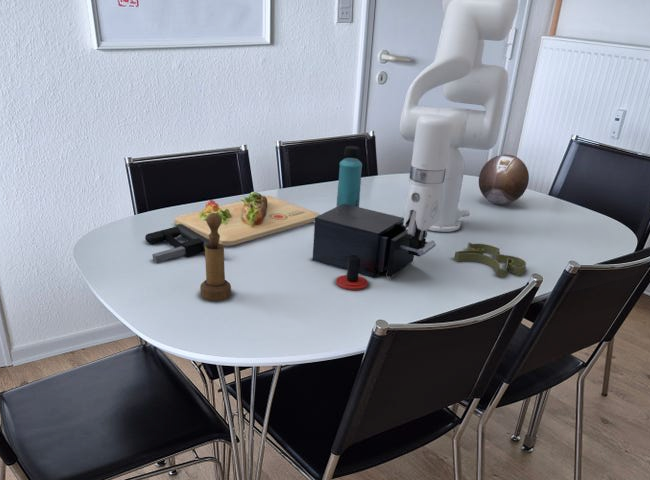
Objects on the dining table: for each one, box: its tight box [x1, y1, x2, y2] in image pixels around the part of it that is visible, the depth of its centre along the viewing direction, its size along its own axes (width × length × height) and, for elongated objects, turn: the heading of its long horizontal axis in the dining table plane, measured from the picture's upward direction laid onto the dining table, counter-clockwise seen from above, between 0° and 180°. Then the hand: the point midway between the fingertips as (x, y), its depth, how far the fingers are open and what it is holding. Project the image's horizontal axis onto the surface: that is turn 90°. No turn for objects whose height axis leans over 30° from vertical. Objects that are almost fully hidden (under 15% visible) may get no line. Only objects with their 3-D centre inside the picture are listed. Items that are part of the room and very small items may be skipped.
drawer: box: [376, 224, 437, 278], centre depth 154 cm, size 22×13×9 cm, turn 58°
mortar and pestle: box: [199, 213, 232, 302], centre depth 135 cm, size 7×6×18 cm
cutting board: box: [173, 191, 320, 247], centre depth 178 cm, size 35×23×8 cm
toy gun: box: [144, 224, 210, 264], centre depth 159 cm, size 3×20×16 cm
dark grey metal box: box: [312, 204, 405, 278], centre depth 158 cm, size 17×14×11 cm
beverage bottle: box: [336, 145, 363, 207], centre depth 182 cm, size 6×7×20 cm
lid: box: [335, 255, 369, 291], centre depth 146 cm, size 7×7×6 cm
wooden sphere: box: [478, 154, 530, 205], centre depth 203 cm, size 15×15×15 cm
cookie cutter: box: [453, 242, 527, 278], centre depth 162 cm, size 18×12×2 cm, turn 43°
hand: (415, 254), depth 151 cm, fingers closed
